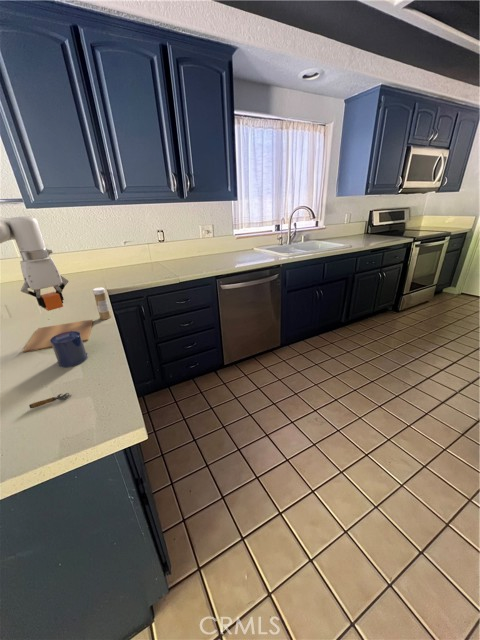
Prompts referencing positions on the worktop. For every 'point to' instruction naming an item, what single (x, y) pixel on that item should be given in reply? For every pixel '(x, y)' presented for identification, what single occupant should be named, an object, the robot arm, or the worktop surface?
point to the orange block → (52, 301)
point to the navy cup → (69, 349)
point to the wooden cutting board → (46, 333)
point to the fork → (49, 400)
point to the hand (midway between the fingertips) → (52, 304)
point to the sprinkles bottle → (101, 303)
